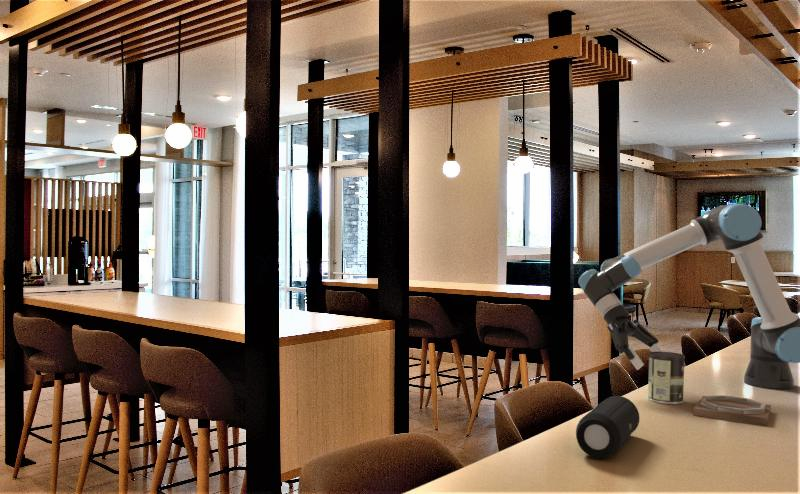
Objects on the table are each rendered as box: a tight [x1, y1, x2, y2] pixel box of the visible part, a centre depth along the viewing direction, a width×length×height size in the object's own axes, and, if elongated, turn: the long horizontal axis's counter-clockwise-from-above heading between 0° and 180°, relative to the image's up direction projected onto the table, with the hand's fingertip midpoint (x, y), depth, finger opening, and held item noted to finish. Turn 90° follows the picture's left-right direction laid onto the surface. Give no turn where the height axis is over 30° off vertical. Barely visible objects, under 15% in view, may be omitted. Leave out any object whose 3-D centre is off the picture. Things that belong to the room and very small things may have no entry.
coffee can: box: [647, 351, 686, 405], centre depth 209 cm, size 10×10×14 cm
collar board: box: [692, 394, 772, 427], centre depth 195 cm, size 18×18×3 cm
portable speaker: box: [575, 395, 640, 459], centre depth 162 cm, size 26×10×10 cm, turn 150°
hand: (653, 365), depth 212 cm, fingers open, 13 cm apart
